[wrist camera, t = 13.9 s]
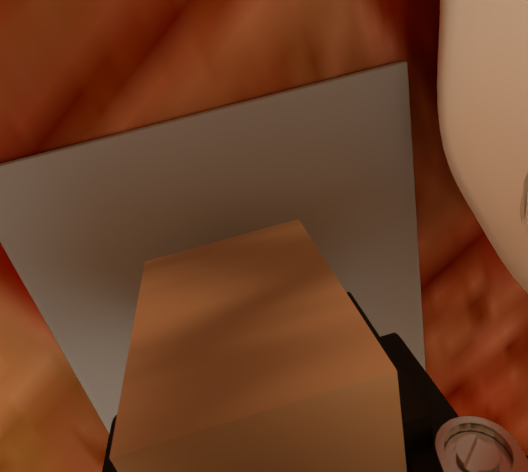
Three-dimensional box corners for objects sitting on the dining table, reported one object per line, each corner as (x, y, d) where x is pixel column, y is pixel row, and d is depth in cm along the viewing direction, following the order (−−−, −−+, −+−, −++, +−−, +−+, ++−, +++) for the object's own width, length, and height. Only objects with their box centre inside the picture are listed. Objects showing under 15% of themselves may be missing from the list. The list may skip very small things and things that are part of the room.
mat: (400, 60, 12) (407, 61, 11) (421, 373, 17) (426, 380, 17) (-31, 171, 11) (-38, 175, 11) (131, 460, 16) (130, 470, 16)
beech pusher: (298, 219, 11) (396, 371, 6) (327, 363, 13) (416, 562, 8) (144, 261, 10) (108, 458, 5) (201, 400, 13) (211, 630, 8)
